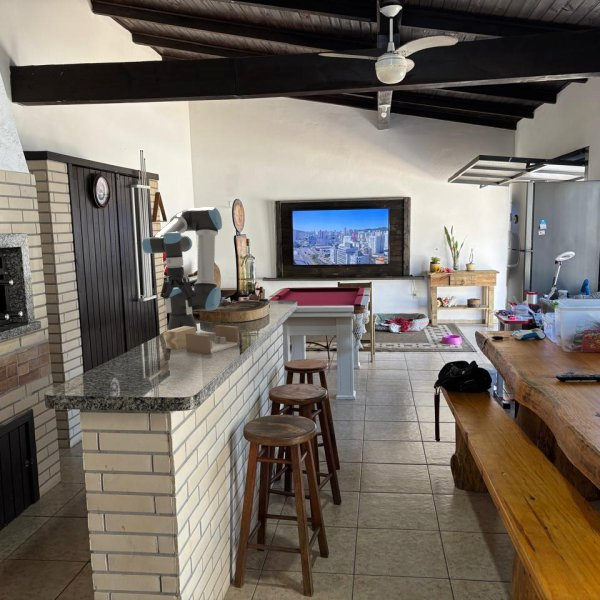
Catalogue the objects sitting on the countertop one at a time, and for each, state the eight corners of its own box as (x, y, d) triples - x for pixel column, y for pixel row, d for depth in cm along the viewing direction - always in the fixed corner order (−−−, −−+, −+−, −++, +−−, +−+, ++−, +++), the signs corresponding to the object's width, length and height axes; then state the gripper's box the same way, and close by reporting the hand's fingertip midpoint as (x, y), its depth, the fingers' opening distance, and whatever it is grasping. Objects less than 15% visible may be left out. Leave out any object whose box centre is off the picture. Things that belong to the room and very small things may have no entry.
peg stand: (186, 351, 249) (185, 333, 248) (218, 341, 265) (217, 324, 264) (208, 354, 241) (207, 336, 240) (239, 344, 257) (238, 326, 256)
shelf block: (166, 348, 258) (165, 331, 256) (186, 342, 267) (184, 326, 266) (177, 349, 254) (176, 332, 252) (196, 344, 263) (195, 327, 262)
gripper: (149, 267, 259) (154, 313, 262) (188, 267, 245) (192, 316, 248) (162, 265, 265) (166, 310, 268) (200, 266, 251) (204, 313, 254)
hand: (178, 313), depth 258 cm, fingers open, 13 cm apart
